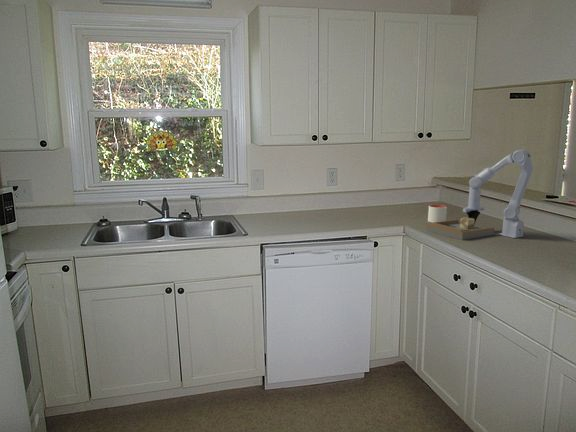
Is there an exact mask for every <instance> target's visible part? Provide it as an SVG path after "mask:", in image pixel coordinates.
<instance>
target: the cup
mask: <svg viewBox="0 0 576 432" xmlns="http://www.w3.org/2000/svg"><path fill="white" fill-rule="evenodd" d="M447 209H448V207H447V206H446V205H442V204H431V205H428V212H427V223H428V222H440V221H447V212H448V210H447Z"/></svg>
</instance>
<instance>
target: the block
mask: <svg viewBox="0 0 576 432" xmlns="http://www.w3.org/2000/svg"><path fill="white" fill-rule="evenodd" d="M474 222H475V219H472V218H469V217H468V216H467V217H462V218H460V222H459V223H460V228H465V229H472V228H474V227H475V225H474ZM475 223H476V222H475Z"/></svg>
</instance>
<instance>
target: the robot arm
mask: <svg viewBox="0 0 576 432" xmlns="http://www.w3.org/2000/svg"><path fill="white" fill-rule="evenodd" d="M513 163H515V164H517V165H518V166H519V167H520V169H521V172H520V175H519V177H518V180H517V182H516V184H515V185H516V186H515V188H514V191H513V193H512V196H511V198H510V200H509V203H508V205H507V207H505V208H504V210H503V220H502V231H501V232H499V233H498V235H500V236H503V237H507V238H512V239H516V238H517V239H518V238H524V228H525V222H524V221H522V220H520V218H519V215H520V213H521V209H520V208H521V207H520V206H521V204H522V200H523V198H524V195H525V193H526V191H527V190H526V189H527V187H528V184H529V181H530V179H531V176H532V174H533V172H534V165H533V161H532V155H531V154H530V153H529V152H528V150H526V149H523V148H522V149H517V150H515V151H514V152H512V153H509V154H508V155H506V156H504V158H502V159H501V160H500V161H497V163H496V164H494V165H493V166H491V167H484V168H482V171H481V172H479V173H476V174H475V175H474V176H473V177H471V178H470V179H469V181H468V185H469V191H468V204H467V206H466V207H464V208H462V213H466V215H467V217H468V218H472V219H475V222H474V226H475V224H476V222H477V219H478V217H479V215H480V214H481V211H485V206H481V195H482V193H481V189H482V188H481V187H482V186H483V184H485V183H487V182H488V181H490V180H491V179H492V178H494V177H495V174H496V172H498V171H499V170H501V169H503V168H505V166H507V165H509V164H513Z"/></svg>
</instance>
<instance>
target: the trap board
mask: <svg viewBox="0 0 576 432" xmlns="http://www.w3.org/2000/svg"><path fill="white" fill-rule="evenodd" d="M425 232H430V233H433V234H436V235H437V234H438V235H441V236H445V237H449V238H453V239H457V240H461V241H464V240H471V239H478V238H481V237H489V236H493V235H495V226H491V227H483V228H482V227H477V226H474V228H472V229H465V228H460V222H459V218H457V219H455V218H454V219H448V220H447V219H446V221H440V222H428V221H427V222H426V225H425Z"/></svg>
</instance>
